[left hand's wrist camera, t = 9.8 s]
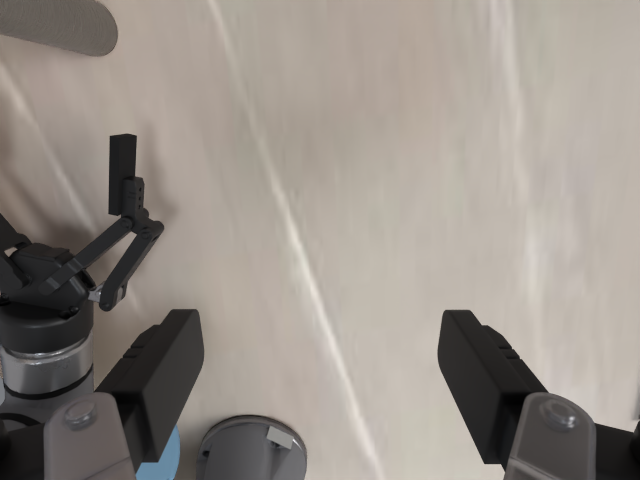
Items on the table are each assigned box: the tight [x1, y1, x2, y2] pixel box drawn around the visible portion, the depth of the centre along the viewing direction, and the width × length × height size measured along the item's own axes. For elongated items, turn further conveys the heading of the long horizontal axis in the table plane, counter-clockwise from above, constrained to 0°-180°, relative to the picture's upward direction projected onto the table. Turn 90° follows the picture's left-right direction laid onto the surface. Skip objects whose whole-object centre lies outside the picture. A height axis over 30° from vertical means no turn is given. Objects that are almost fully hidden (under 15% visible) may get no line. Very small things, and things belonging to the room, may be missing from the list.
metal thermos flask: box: [0, 0, 117, 56], centre depth 24 cm, size 4×4×16 cm
